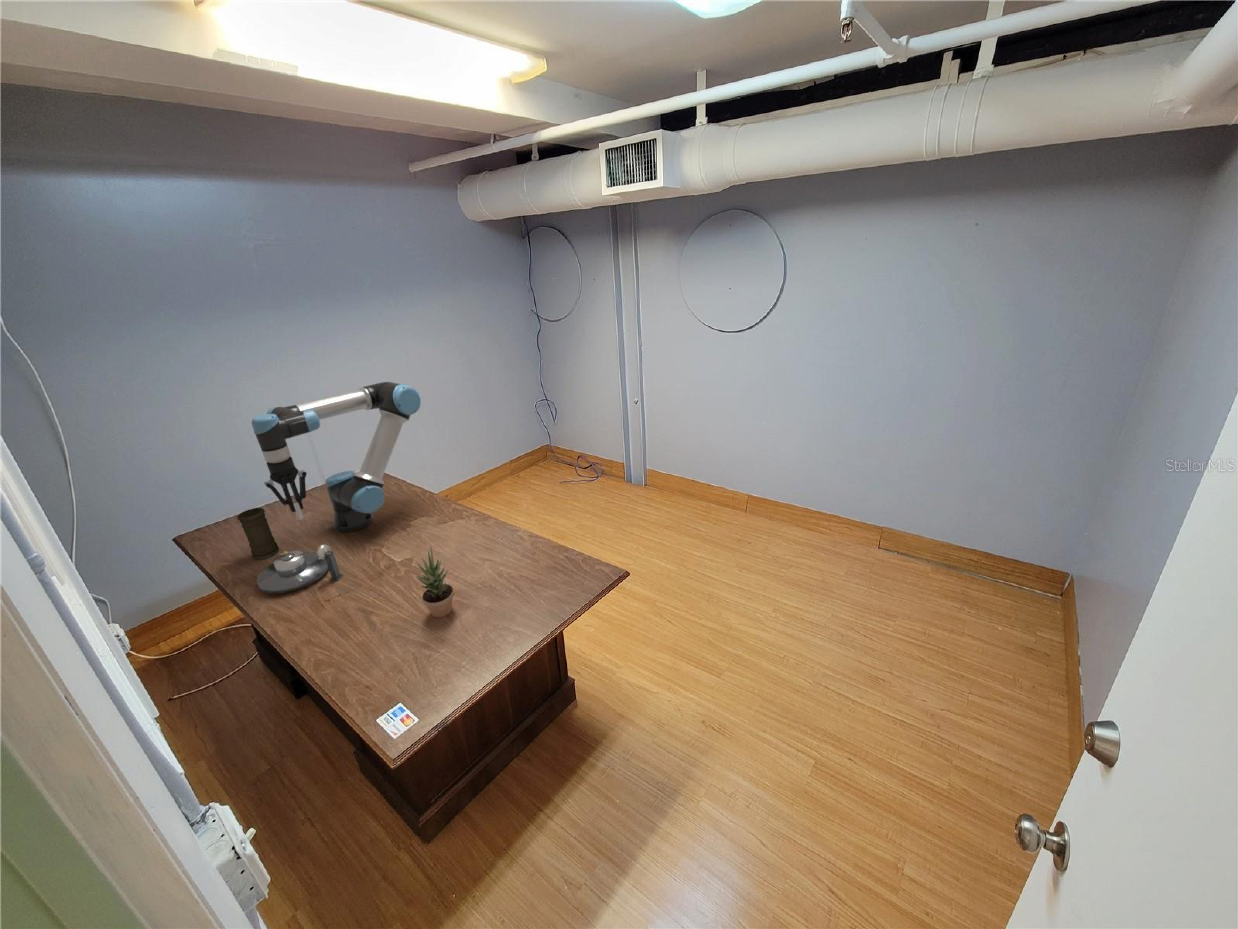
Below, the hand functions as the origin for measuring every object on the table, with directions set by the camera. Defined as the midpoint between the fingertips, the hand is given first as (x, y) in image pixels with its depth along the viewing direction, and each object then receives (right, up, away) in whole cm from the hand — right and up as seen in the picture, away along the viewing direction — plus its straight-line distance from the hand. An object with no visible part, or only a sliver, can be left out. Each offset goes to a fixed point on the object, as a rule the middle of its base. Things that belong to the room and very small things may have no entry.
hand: (300, 517), depth 181 cm
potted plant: (+60, -27, -23) cm, 70 cm away
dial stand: (+16, -21, -4) cm, 27 cm away
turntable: (0, -20, -3) cm, 20 cm away
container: (-21, -15, +13) cm, 29 cm away
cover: (0, -18, -4) cm, 19 cm away
